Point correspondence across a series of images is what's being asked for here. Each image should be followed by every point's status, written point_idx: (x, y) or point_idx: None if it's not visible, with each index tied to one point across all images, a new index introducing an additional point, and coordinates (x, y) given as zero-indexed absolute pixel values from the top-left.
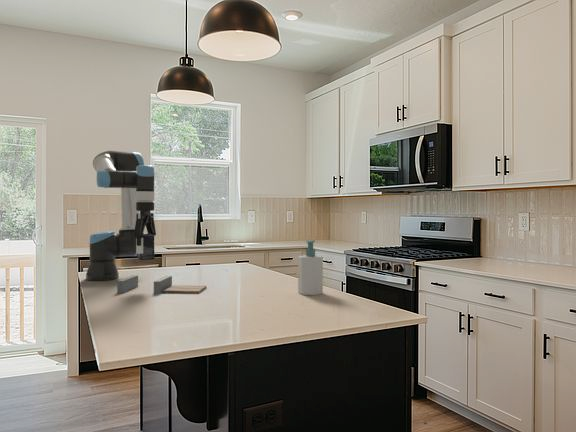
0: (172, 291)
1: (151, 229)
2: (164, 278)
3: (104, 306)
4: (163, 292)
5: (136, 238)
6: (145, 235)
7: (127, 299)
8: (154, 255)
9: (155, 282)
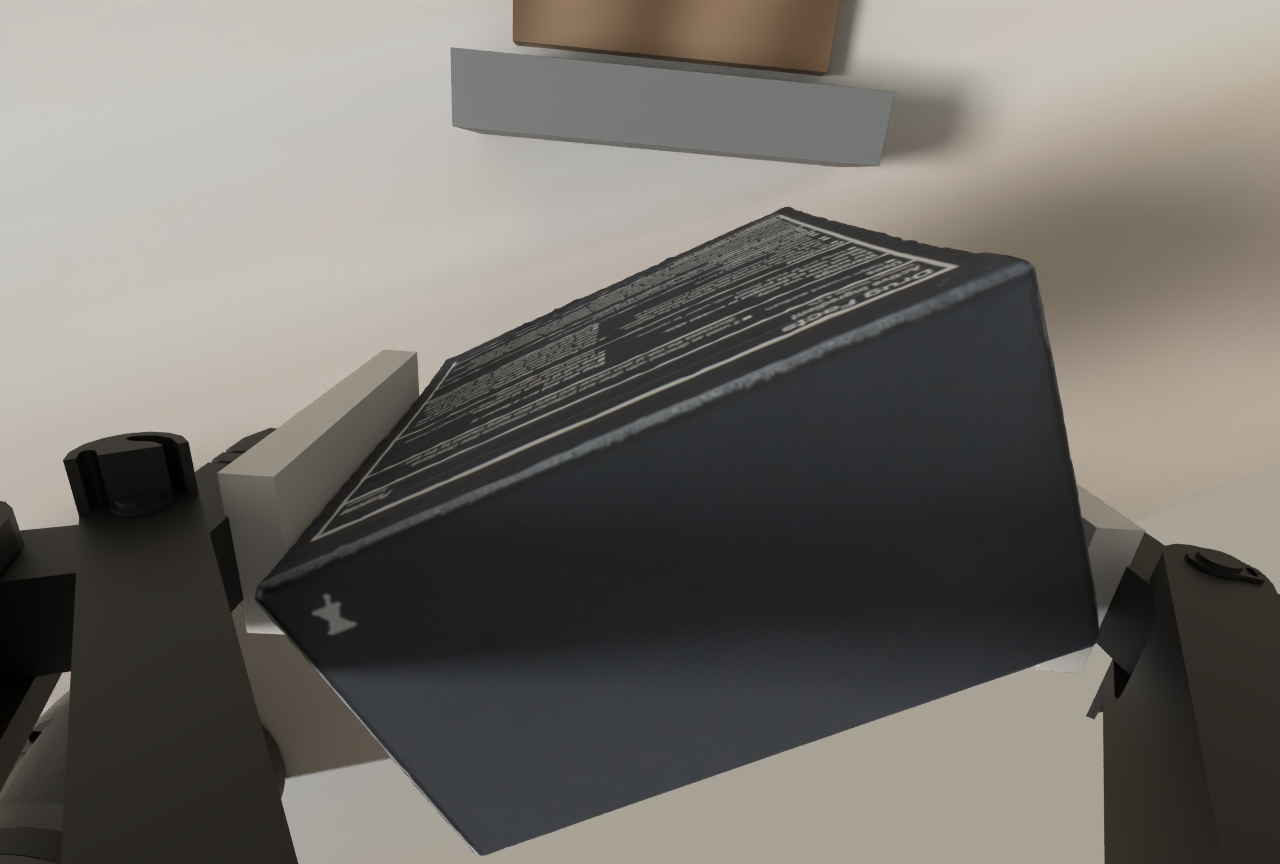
0: None
1: (237, 653)
2: (666, 93)
3: (1273, 394)
4: (822, 72)
5: (1074, 657)
6: (1054, 528)
7: (1057, 317)
8: (804, 213)
9: (879, 144)
